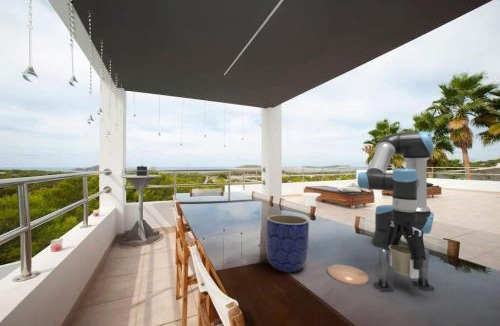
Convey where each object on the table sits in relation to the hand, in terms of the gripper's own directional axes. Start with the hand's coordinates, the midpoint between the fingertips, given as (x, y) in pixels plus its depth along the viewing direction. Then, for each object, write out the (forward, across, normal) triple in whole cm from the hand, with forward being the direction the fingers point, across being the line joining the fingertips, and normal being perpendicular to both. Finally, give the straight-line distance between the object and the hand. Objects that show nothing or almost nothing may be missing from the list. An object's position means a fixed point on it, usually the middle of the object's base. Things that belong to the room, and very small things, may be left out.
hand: (403, 271), depth 80 cm
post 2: (+6, 0, +8) cm, 10 cm away
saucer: (+6, -10, -16) cm, 20 cm away
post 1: (+6, 0, -8) cm, 10 cm away
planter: (+6, -19, -39) cm, 44 cm away
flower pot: (+1, 0, 0) cm, 1 cm away
